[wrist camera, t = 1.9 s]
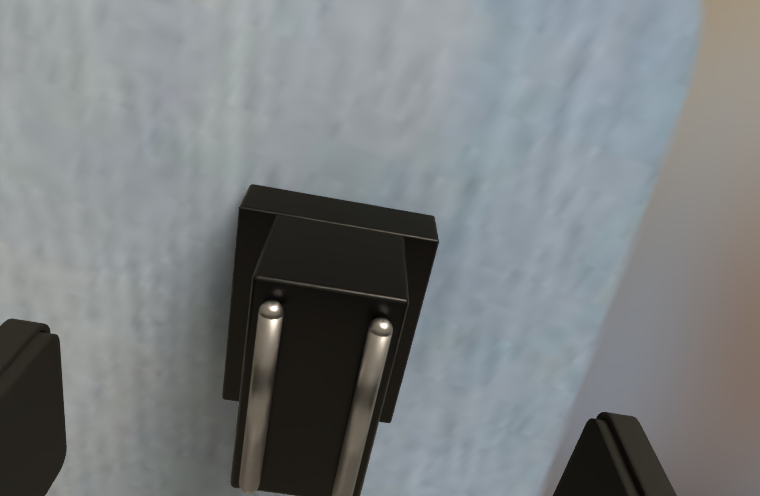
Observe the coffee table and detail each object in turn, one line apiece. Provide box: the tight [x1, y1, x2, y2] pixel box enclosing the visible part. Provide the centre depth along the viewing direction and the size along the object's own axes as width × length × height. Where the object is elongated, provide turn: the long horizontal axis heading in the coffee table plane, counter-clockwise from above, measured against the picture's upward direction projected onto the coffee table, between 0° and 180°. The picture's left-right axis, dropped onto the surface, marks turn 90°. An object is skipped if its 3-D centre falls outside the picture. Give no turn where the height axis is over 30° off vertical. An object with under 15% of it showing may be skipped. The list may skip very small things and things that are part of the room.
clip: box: [222, 185, 439, 496], centre depth 12 cm, size 5×4×4 cm
